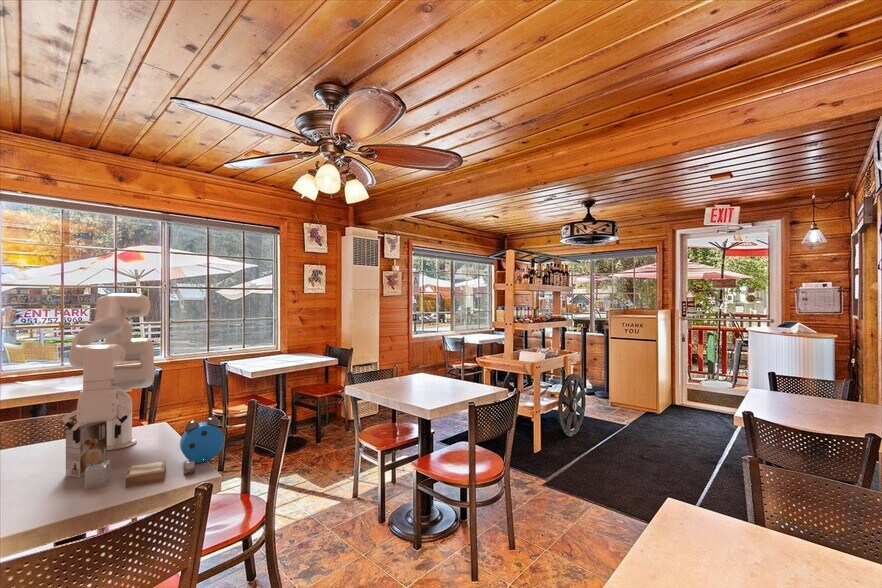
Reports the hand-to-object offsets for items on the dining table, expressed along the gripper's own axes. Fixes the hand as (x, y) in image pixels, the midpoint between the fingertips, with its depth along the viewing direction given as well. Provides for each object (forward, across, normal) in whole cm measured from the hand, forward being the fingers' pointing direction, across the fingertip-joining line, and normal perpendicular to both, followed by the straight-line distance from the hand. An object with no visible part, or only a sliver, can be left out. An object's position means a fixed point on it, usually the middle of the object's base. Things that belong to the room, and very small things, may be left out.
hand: (97, 439), depth 133 cm
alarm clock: (+14, -29, -6) cm, 33 cm away
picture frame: (+14, -13, +2) cm, 19 cm away
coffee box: (+14, +5, -15) cm, 21 cm away
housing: (+14, 0, -1) cm, 14 cm away
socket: (+14, -25, +5) cm, 29 cm away
